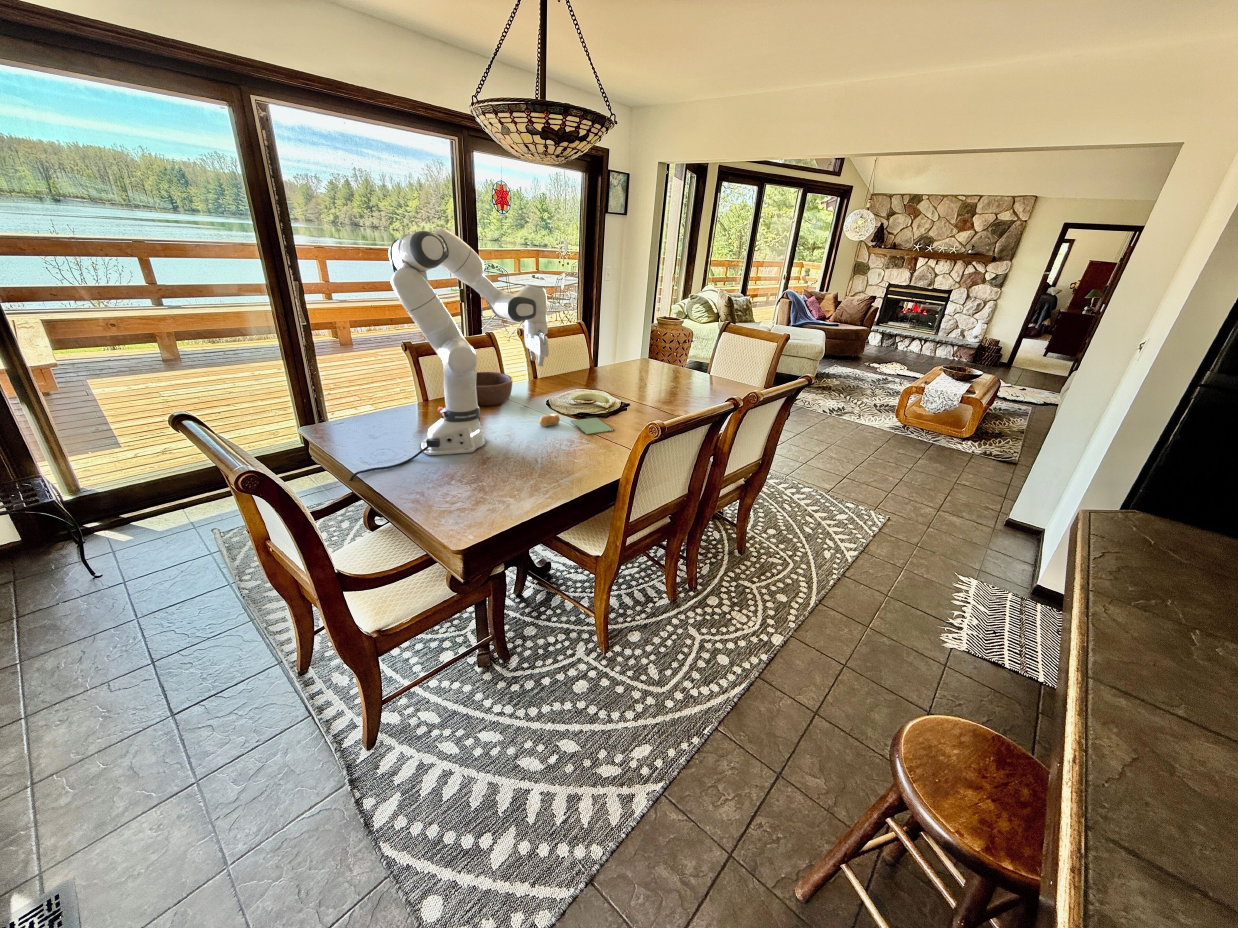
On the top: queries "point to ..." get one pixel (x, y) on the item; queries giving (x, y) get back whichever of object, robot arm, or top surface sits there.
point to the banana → (591, 397)
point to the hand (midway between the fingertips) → (536, 363)
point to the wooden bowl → (493, 388)
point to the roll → (549, 420)
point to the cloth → (592, 425)
